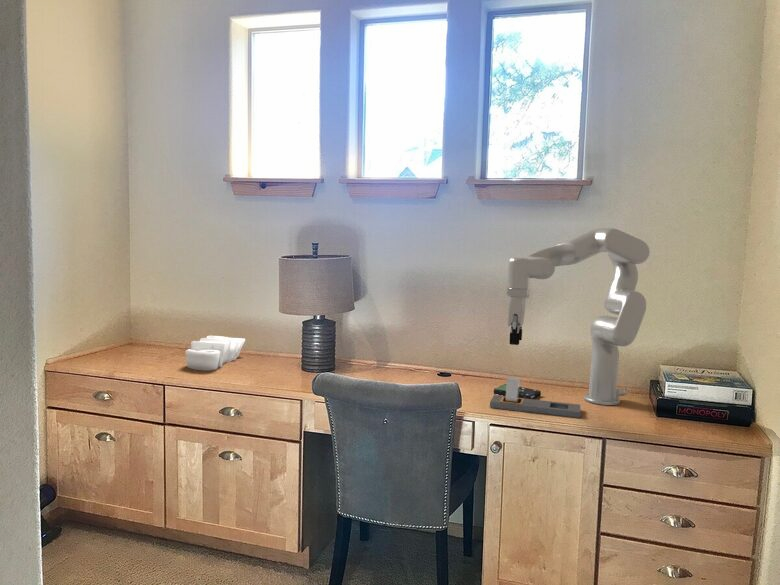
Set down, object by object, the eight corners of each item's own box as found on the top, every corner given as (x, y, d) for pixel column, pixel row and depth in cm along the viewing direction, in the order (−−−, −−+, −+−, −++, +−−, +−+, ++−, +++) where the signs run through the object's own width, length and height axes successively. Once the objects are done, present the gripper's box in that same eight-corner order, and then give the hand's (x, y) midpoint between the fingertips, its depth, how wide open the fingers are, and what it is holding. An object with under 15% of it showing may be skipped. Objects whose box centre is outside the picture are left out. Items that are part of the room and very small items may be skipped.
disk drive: (540, 397, 232) (505, 390, 241) (541, 390, 231) (505, 383, 240) (529, 403, 224) (492, 395, 232) (529, 395, 223) (493, 387, 232)
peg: (518, 405, 217) (519, 377, 216) (516, 408, 214) (518, 380, 213) (506, 404, 219) (508, 376, 218) (505, 407, 215) (506, 379, 214)
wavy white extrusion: (216, 354, 286) (216, 332, 285) (249, 357, 283) (249, 334, 282) (176, 370, 252) (176, 345, 251) (213, 373, 249) (213, 348, 248)
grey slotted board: (580, 410, 214) (580, 404, 214) (580, 418, 205) (580, 411, 205) (493, 400, 223) (494, 394, 223) (489, 407, 214) (490, 401, 213)
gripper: (509, 290, 222) (507, 337, 223) (504, 295, 205) (501, 345, 207) (531, 291, 219) (528, 339, 221) (527, 296, 203) (524, 347, 205)
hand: (515, 342), depth 214 cm, fingers open, 9 cm apart
